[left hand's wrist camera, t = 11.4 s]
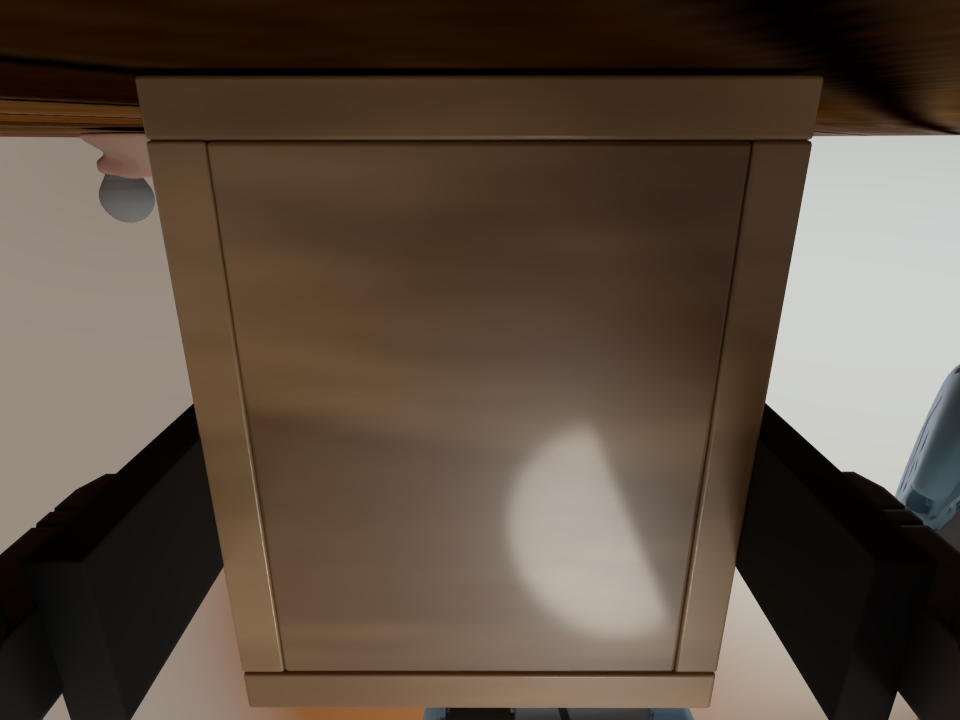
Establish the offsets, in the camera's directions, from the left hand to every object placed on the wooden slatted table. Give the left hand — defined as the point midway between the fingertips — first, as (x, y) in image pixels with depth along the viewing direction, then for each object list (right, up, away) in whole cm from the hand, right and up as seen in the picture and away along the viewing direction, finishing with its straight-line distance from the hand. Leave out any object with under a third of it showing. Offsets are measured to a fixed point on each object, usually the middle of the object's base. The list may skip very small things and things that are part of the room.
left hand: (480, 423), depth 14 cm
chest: (0, +8, +2) cm, 8 cm away
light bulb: (-44, +28, +58) cm, 78 cm away
